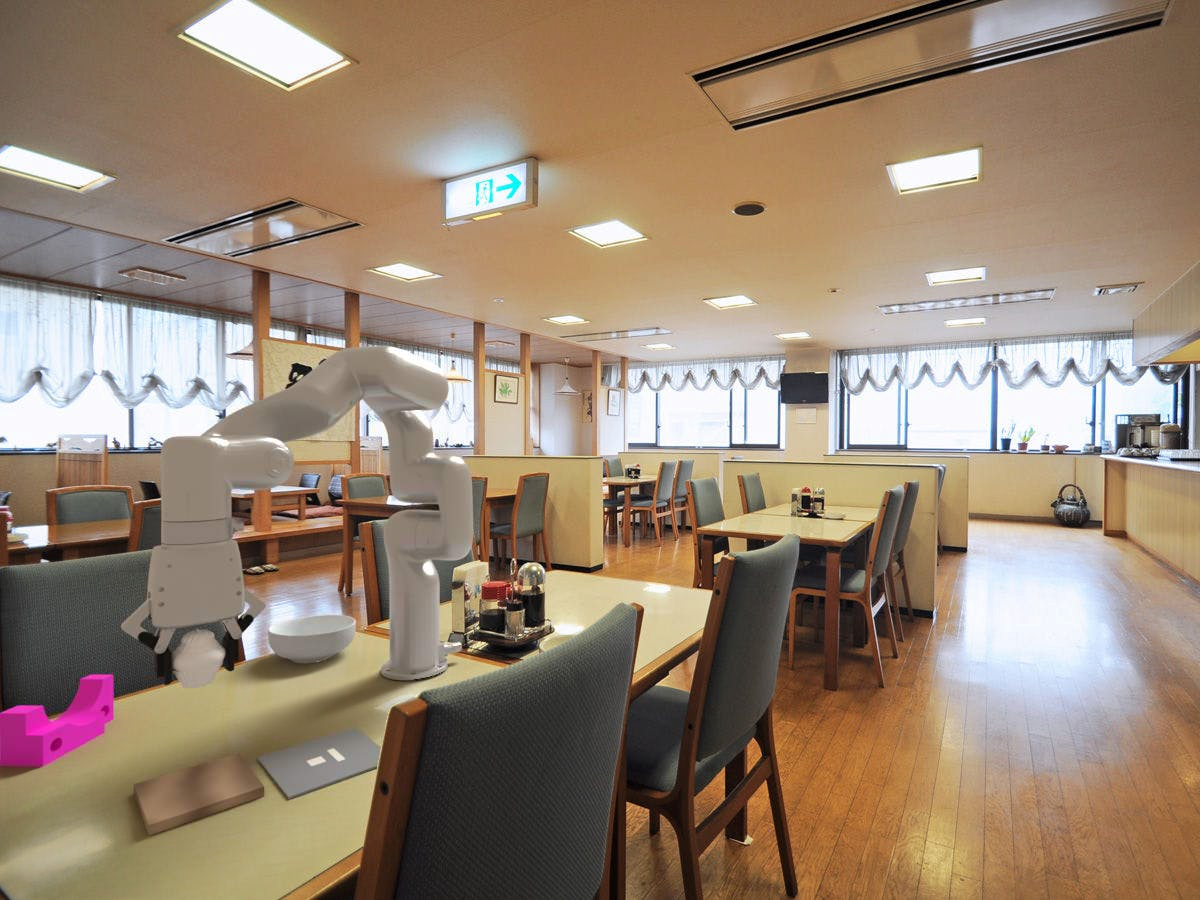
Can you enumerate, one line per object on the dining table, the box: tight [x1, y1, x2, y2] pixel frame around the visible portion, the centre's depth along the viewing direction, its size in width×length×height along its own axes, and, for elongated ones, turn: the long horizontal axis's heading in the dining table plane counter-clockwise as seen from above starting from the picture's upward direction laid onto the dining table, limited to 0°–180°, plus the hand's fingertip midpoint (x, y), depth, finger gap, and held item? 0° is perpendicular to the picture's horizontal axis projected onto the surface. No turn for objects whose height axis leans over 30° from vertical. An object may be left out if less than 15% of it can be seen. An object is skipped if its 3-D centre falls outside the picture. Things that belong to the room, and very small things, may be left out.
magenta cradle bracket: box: [0, 674, 115, 767], centre depth 95 cm, size 15×6×8 cm, turn 178°
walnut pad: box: [133, 752, 265, 836], centre depth 80 cm, size 12×12×1 cm
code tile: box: [256, 727, 382, 800], centre depth 89 cm, size 14×14×1 cm
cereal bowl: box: [267, 614, 357, 664], centre depth 133 cm, size 17×17×7 cm
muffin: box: [171, 628, 226, 689], centre depth 80 cm, size 6×6×7 cm
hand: (198, 673), depth 80 cm, fingers closed on muffin, 6 cm apart
